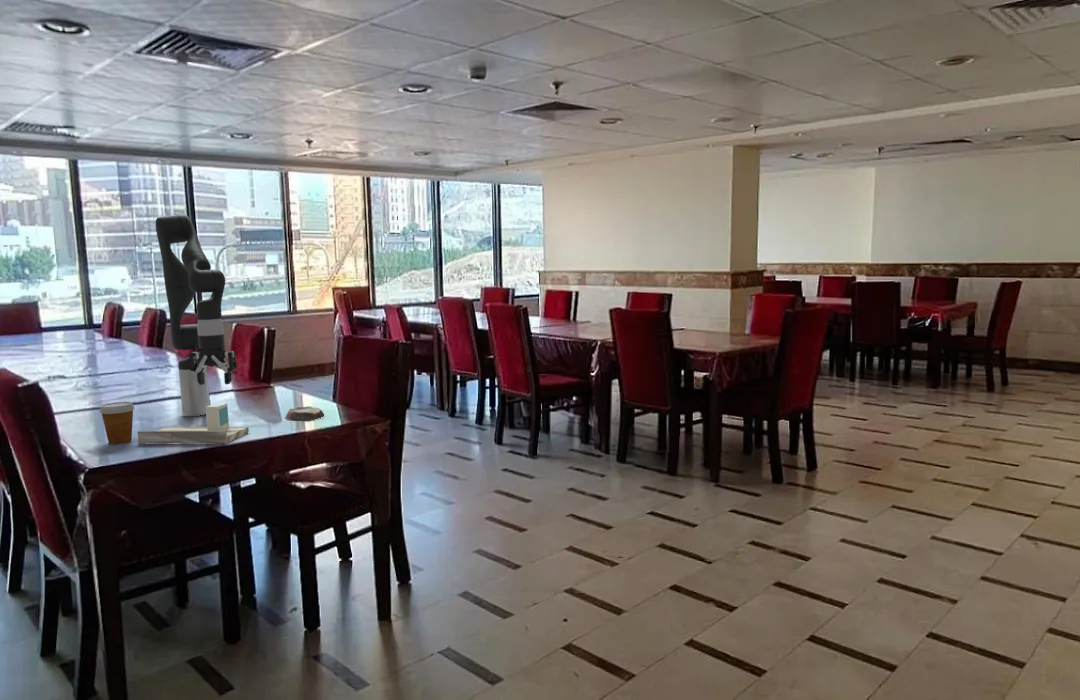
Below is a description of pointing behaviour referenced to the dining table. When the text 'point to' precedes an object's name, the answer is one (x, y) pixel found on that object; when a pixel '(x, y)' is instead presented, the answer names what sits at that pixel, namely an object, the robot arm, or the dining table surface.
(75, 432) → the dining table surface
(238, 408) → the dining table surface
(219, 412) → the carton
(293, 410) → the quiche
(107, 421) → the disposable coffee cup
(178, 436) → the cream rectangular tray
